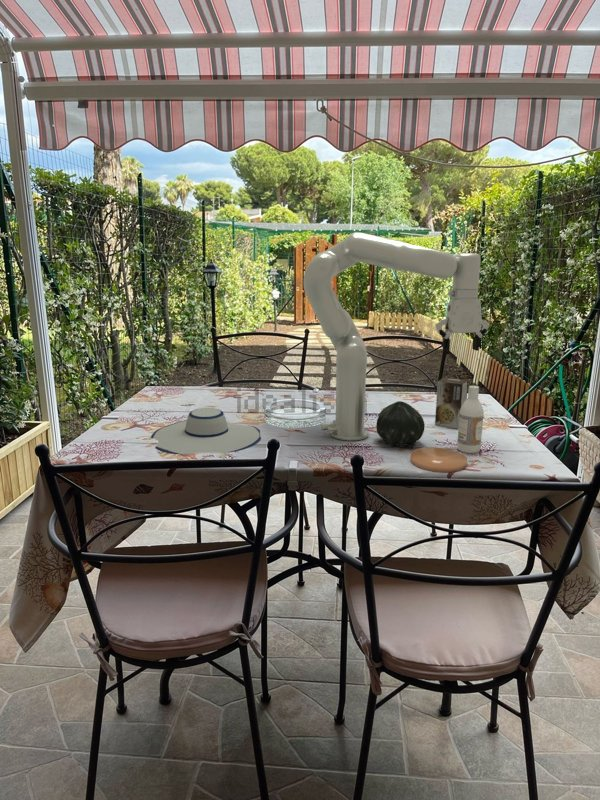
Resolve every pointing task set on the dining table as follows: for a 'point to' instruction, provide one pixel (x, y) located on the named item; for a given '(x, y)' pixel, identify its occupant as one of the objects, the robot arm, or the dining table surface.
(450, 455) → the terracotta dish
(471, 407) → the bath foam
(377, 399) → the dining table surface
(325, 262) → the robot arm
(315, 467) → the dining table surface
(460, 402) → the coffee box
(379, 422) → the squash
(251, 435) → the sun hat
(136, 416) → the dining table surface
